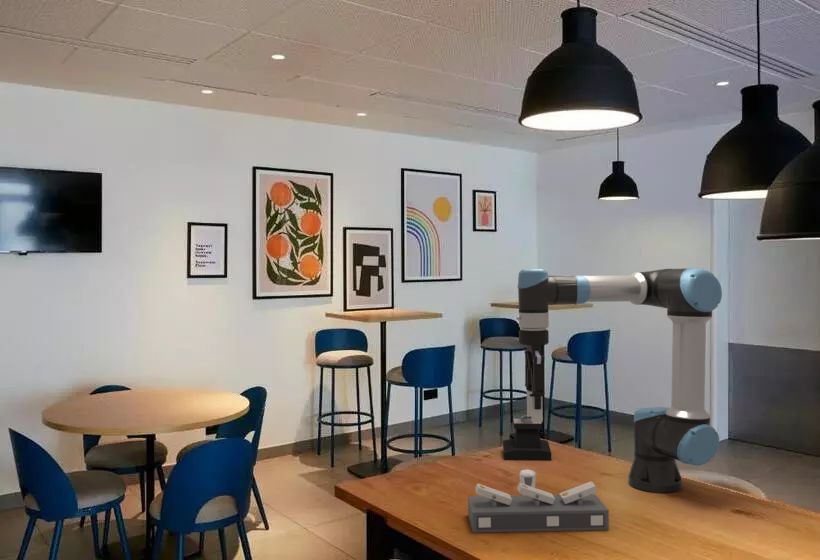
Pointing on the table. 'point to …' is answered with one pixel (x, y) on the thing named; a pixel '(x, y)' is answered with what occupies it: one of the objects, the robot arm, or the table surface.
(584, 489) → the rocker
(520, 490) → the rocker mid
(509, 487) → the table surface
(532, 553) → the table surface
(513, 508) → the console
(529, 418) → the black pedestal stand
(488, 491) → the rocker
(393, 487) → the table surface
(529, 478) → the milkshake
